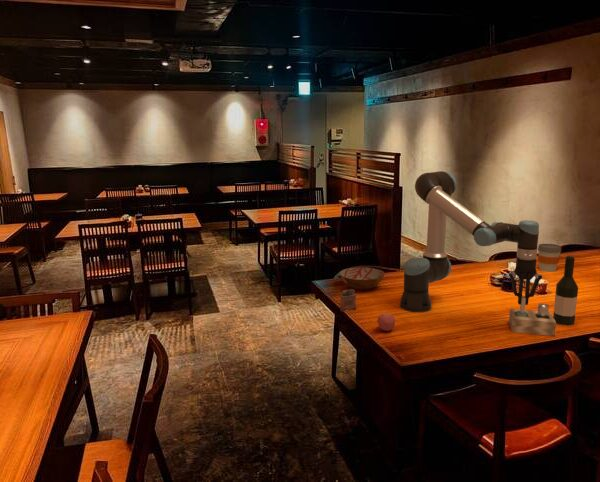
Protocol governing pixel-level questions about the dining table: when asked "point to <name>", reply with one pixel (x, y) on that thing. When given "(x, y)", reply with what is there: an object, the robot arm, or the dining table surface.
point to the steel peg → (543, 310)
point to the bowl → (361, 277)
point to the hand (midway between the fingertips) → (522, 311)
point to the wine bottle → (566, 295)
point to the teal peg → (521, 314)
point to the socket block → (532, 323)
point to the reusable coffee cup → (548, 257)
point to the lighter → (347, 300)
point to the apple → (386, 321)
